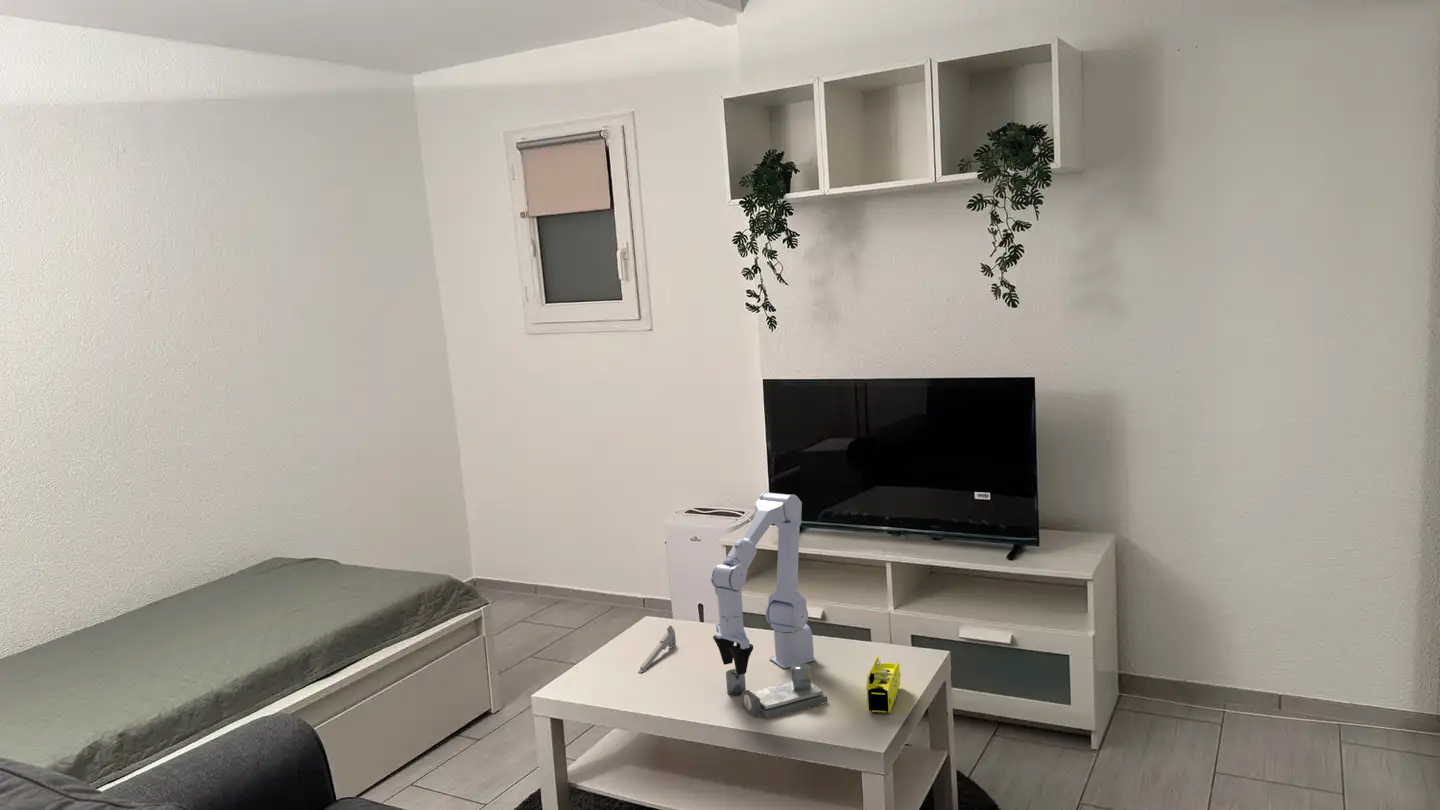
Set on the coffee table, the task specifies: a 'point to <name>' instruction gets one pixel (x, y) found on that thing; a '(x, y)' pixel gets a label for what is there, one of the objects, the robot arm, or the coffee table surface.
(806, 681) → the block
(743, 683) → the cylinder
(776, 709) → the scale base
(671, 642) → the caliper
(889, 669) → the yellow toy chassis
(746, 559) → the robot arm
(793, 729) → the coffee table surface
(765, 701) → the pan
